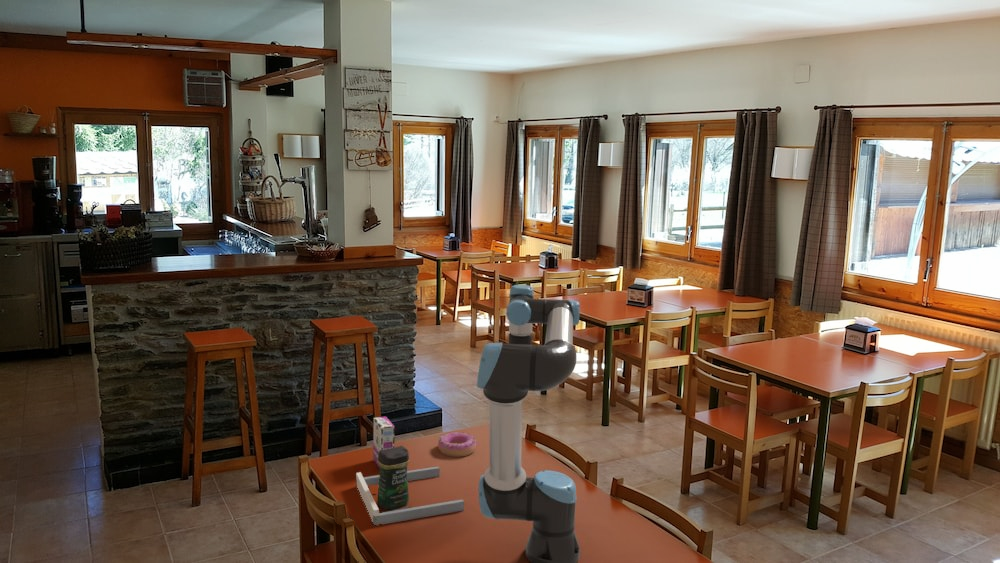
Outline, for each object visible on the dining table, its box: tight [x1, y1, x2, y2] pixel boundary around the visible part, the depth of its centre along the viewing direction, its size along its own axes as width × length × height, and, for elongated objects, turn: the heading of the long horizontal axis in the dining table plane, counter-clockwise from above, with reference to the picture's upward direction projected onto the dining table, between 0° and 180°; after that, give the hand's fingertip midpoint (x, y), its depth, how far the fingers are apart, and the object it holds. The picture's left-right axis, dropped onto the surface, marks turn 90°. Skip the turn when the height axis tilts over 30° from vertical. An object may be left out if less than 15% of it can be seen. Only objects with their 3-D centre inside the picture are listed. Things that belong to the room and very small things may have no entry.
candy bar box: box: [372, 415, 396, 470], centre depth 257 cm, size 11×5×16 cm, turn 25°
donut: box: [437, 431, 477, 458], centre depth 273 cm, size 14×14×5 cm
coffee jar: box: [376, 445, 410, 510], centre depth 229 cm, size 10×8×19 cm
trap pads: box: [380, 506, 413, 513], centre depth 232 cm, size 24×10×1 cm, turn 22°
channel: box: [355, 466, 465, 526], centre depth 234 cm, size 27×28×5 cm
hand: (518, 396), depth 236 cm, fingers open, 13 cm apart
